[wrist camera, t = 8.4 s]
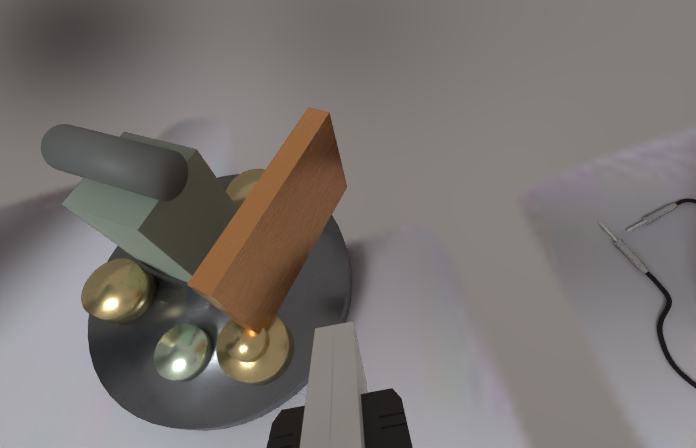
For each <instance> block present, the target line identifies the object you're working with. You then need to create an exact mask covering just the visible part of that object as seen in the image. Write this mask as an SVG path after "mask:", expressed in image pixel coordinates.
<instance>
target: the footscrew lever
mask: <svg viewBox="0 0 696 448" xmlns="http://www.w3.org/2000/svg"><path fill="white" fill-rule="evenodd" d="M346 188H347V185H346V180H345V176H344V172H343V168H342V163H341V159H340V155H339V151H338V147H337V142H336V138H335V134H334V130H333V125H332V121H331V117H330V113H329V112H325V111H321V110H316V109H312V108H308V109H307V111H306V112H305V114H304V115H303V116H302V118H301V119H300V121H299V123H298V124H297V125H296V127H295V128H294V129H293V131H292V132H291V134H290V135H289V137H288V138H287V140H286V141H285V143H284V144H283V146H282V147H281V148H280V150H279V151H278V153H277V154H276V156H275V157H274V159H273V160H272V161H271V163H270V164H269V166H268V167H267V169H266V170H265V172H264V173H263V174H262V176H261V177H260V179H259V180H258V182H257V183H256V185H255V186H254V188H253V189H252V190H251V192H250V193H249V195H248V196H247V198H246V199H245V201H244V202H243V204H242V205H241V206H240V208H239V209H238V211H237V212H236V214H235V215H234V217H233V218H232V219H231V221H230V222H229V224H228V225H227V227H226V228H225V230H224V231H223V233H222V234H221V235H220V237H219V238H218V240H217V241H216V243H215V244H214V246H213V247H212V249H211V250H210V251H209V253H208V254H207V256H206V257H205V259H204V260H203V262H202V263H201V264H200V266H199V267H198V269H197V270H196V272H195V273H194V275H193V276H192V278H191V279H190V280H189V282H188V283H187V285H188V286H189V287H190V288H192V289H193V290H194V291H195V292H197V293H198V294H199V295H201V296H202V297H203V298H204V299H206V300H207V301H208V302H210V303H211V304H212V305H214V306H215V307H216V308H217V309H219V310H220V311H221V312H223V313H224V314H225V315H227V316H228V317H229V318H230V320H229V321H228V322H227V323H226V324H225V326H224V327H223V329H222V330H221V332H220V335H219V337H218V340H217V346H216V355H217V360H218V363H219V365H220V367H221V369H222V370H223V371H224V372H225V373H226V374H227V375H228V376H230V377H231V378H234V379H236V380H238V381H240V382H243V383H245V384H247V385H251V386H263V385H267V384H270V383H272V382H274V381H275V380H277V379H278V378H279V377H281V376H282V375H283V374H284V372H285V371H286V370H287V368H288V367H289V365H290V363H291V361H292V358H293V354H294V339H293V336H292V333H291V331H290V330H289V328H288V327H287V326H286V325H285V324H284V323H283V321H282V320H281V319H280V318H279V317H278V316H277V315H276V314H277V312H278V310H279V308H280V306H281V305H282V303H283V301H284V299H285V297H286V296H287V294H288V292H289V290H290V288H291V287H292V285H293V283H294V281H295V279H296V278H297V276H298V274H299V272H300V271H301V269H302V267H303V265H304V263H305V262H306V260H307V258H308V256H309V254H310V253H311V251H312V249H313V247H314V245H315V244H316V242H317V240H318V238H319V236H320V235H321V233H322V231H323V229H324V227H325V226H326V224H327V222H328V220H329V218H330V217H331V215H332V213H333V211H334V209H335V207H336V206H337V204H338V202H339V200H340V199H341V197H342V195H343V193H344V191H345V190H346Z"/></svg>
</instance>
